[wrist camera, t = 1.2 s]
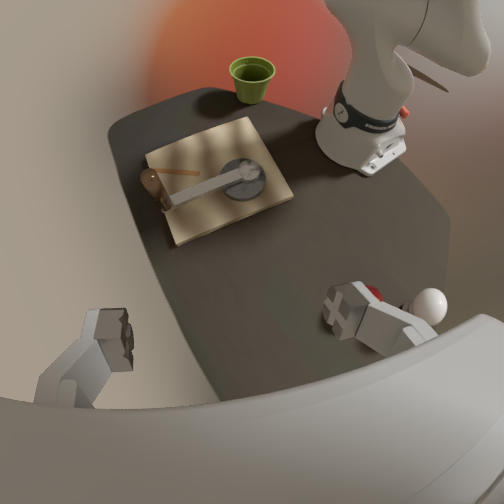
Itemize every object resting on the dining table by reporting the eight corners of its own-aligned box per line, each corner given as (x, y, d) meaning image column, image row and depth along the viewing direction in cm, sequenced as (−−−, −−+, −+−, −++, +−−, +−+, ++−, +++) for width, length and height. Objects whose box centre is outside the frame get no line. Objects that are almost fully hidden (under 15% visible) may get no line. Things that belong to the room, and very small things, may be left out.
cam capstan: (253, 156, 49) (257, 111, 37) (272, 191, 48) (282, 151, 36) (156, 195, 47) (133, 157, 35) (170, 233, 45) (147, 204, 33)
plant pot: (279, 102, 55) (284, 74, 47) (243, 115, 54) (243, 87, 46) (257, 79, 57) (259, 52, 49) (222, 91, 56) (221, 64, 47)
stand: (247, 121, 54) (247, 116, 52) (292, 198, 50) (293, 194, 48) (147, 158, 51) (144, 154, 49) (177, 246, 47) (175, 244, 45)
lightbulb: (420, 296, 46) (455, 289, 36) (415, 328, 45) (451, 327, 34) (394, 290, 46) (429, 282, 36) (389, 324, 45) (424, 323, 34)
